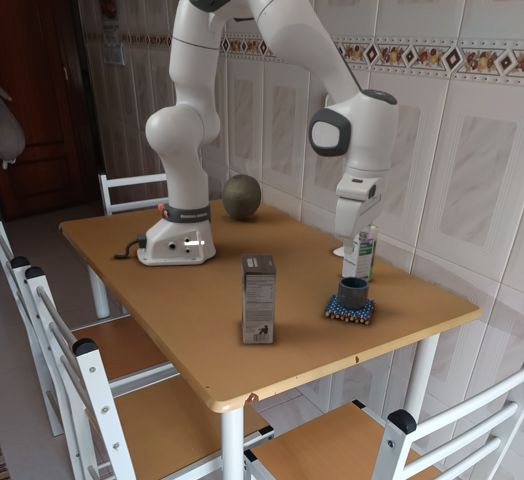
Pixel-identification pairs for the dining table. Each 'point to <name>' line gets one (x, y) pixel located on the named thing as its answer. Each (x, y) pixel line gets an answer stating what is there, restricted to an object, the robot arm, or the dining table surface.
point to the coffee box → (258, 298)
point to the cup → (352, 293)
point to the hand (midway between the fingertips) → (356, 246)
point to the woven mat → (349, 311)
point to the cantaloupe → (241, 196)
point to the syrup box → (361, 257)
